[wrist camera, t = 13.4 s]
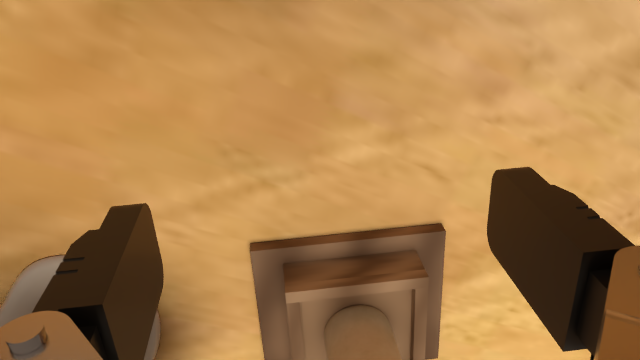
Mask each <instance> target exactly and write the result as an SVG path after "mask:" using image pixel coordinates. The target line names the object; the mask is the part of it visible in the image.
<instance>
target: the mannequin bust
mask: <svg viewBox="0 0 640 360" xmlns="http://www.w3.org/2000/svg"><path fill="white" fill-rule="evenodd" d="M64 256H65V255H59V256H52V257H47V258H44V259H40V260H38V261H36V262H34V263H32V264H30V265H29V266H28V267H27V268H26V269H24V270H23V271H22V272H21V274H20V275H19V276H18V277H17V279H16V280H15V282H14V283H13V285H12V287H11V289H10V291H9V292H8V294H7V296H6V298H5V301H4V303H3V304H2V306H1V308H0V327H2V326H3V325H5V324H7V323H8V322H10V321H12V320H14V319H16V318H19V317H21V316H24V315H27V314H30V313H32V311H33V309H34V308H35V306H36V304H37V303H38V301H39V299H40V297H41V296H42V294H43V292H44V291H45V289H46V287H47V285H48V284H49V282H50V280H51V279H52V277H53V275H56V270H57V268H58V267H59V265H60V263H61V262H63V258H64ZM160 334H161V327H160V318H159V313H158V310H157V311H156V315H155V319H154V323H153V326H152V330H151V334H150V338H149V342H148V345H147V349H146V353H145V357H144V360H154V359H155V357H156V354H157V351H158V347H159V342H160Z"/></svg>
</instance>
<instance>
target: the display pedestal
mask: <svg viewBox="0 0 640 360" xmlns="http://www.w3.org/2000/svg"><path fill="white" fill-rule="evenodd" d="M445 235H446V231H445V229H444V227H443V226H442V224H432V225H423V226H413V227H403V228H394V229H384V230H375V231H365V232H355V233H346V234H336V235H326V236H317V237H307V238H298V239H288V240H278V241H269V242H259V243H250V254H251V262H252V269H253V276H254V284H255V291H256V299H257V306H258V313H259V321H260V328H261V335H262V343H263V350H264V358H265V360H327V354H326V347H325V340H324V332H325V327H326V325H327V323H328V321H329V320H330V318H331V317H332V316H333V315H335V314H336V313H337V312H339V311H340V310H342V309H344V308H347V307H351V306H356V305H366V306H371V307H374V308H376V309H378V310H380V311H381V312H382V313H383V314H384V315H385V316H386V317H387V319H388V321H389V323H390V326H391V328H392V331H393V334H394V337H395V340H396V343H397V346H398V349H399V352H400V355H401V358H402V360H427V359H435V358H438V349H439V333H440V316H441V300H442V284H443V267H444V251H445Z"/></svg>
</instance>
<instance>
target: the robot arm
mask: <svg viewBox="0 0 640 360" xmlns="http://www.w3.org/2000/svg"><path fill="white" fill-rule="evenodd" d="M487 237H488V242H489V246H490V249H491V251H492V253H493V254H494V256H495V257H496V259H497V260H498V261H499V263H500V264H501V266H502V267H503V268H504V270H505V271H506V272H507V274H508V275H509V277H510V278H511V279H512V281H513V282H514V284H515V285H516V286H517V288H518V289H519V291H520V292H521V293H522V295H523V296H524V298H525V299H526V300H527V302H528V303H529V305H530V306H531V307H532V309H533V310H534V312H535V313H536V314H537V316H538V317H539V319H540V320H541V321H542V323H543V324H544V325H545V327H546V328H547V330H548V331H549V332H550V334H551V335H552V337H553V338H554V339H555V341H556V342H557V344H558V345H559V346H560V348H561V349H562V351H563V352H564V351H572V350H580V349H588V350H589V351H590V353H591V357H590V360H640V246H635V245H634V244H632V243H631V242H630V241H629V240H628V239H627V238H625V237H624V236H623V235H622V234H621V233H619V232H618V231H617V230H616V229H615V228H614V227H612V226H611V225H610V224H609V223H608V222H606V221H605V220H604V219H603V218H600V216H599V215H598V214H597V213H596V212H595V211H594V210H592V209H591V208H588V205H586V204H585V203H584V202H583V201H582V200H581V199H579V198H578V197H577V196H576V195H575V194H573V193H571V192H568V191H566V190H564V189H562V188H560V187H557V186H555V185H550V184H549V183H548V182H547V181H545V180H544V179H543V178H542V177H541V176H540V175H539V174H538V173H536V172H535V171H534V170H533V169H532V168H530V167H522V168H511V169H501V170H496V171H495V173H494V175H493V178H492V184H491V194H490V204H489V214H488V223H487ZM162 288H163V264H162V259H161V254H160V250H159V246H158V241H157V237H156V232H155V228H154V224H153V219H152V215H151V211H150V208H149V206H148V205H147V204H146V203H144V204H133V205H123V206H113V207H111V208H110V210H109V212H108V214H107V215H106V217H105V219H104V221H103V223H102V225H101V227H100V229H99V230H89V231H87V232H86V233H85V234H84V235H82V236H81V237H80V238H79V239H78V240H76V241H75V242H74V243H73V244H71V246H70V248H69V249H68V251H67V253H66V255H65V256H64V258H63V262H61V263H60V265H59V267H58V268H57V270H56V275H53V277H52V279H51V280H50V282H49V284H48V285H47V287H46V289H45V291H44V292H43V294H42V296H41V297H40V299H39V301H38V303H37V304H36V306H35V308H34V309H33V311H32V313H30V314H27V315H24V316H21V317H19V318H16V319H14V320H12V321H10V322H8V323H7V324H5V325H3V326H2V327H0V360H144V357H145V353H146V349H147V345H148V342H149V338H150V334H151V330H152V326H153V323H154V319H155V315H156V311H157V307H158V303H159V300H160V296H161V292H162Z"/></svg>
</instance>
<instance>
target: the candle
mask: <svg viewBox="0 0 640 360" xmlns="http://www.w3.org/2000/svg"><path fill="white" fill-rule="evenodd" d="M324 340H325V347H326V354H327V360H402V358H401V355H400V352H399V349H398V346H397V343H396V340H395V337H394V334H393V331H392V328H391V326H390V323H389V321H388V319H387V317H386V316H385V315H384V314H383V313H382V312H381V311H380V310H378V309H376V308H374V307H371V306H366V305H356V306H351V307H347V308H344V309H342V310H340V311H339V312H337V313H336V314H335V315H333V316H332V317H331V318H330V320H329V321H328V323H327V325H326V327H325V332H324Z"/></svg>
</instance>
